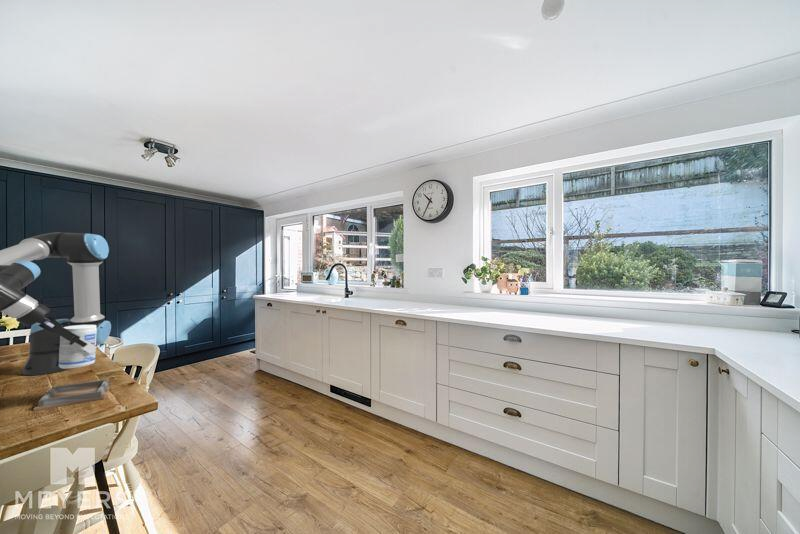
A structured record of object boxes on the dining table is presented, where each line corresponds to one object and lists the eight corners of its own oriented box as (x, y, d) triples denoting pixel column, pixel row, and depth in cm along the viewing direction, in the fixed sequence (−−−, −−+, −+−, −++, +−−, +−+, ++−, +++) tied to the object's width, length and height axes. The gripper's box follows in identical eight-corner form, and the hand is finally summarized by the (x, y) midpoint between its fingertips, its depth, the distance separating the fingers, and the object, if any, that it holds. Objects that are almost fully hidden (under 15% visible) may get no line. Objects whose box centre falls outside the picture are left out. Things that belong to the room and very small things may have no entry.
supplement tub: (90, 367, 112) (92, 327, 112) (53, 371, 107) (55, 329, 107) (98, 360, 120) (100, 323, 120) (64, 363, 115) (66, 325, 115)
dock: (50, 393, 115) (51, 386, 115) (111, 384, 125) (111, 378, 125) (33, 410, 102) (33, 402, 102) (103, 399, 112) (103, 391, 112)
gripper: (10, 316, 107) (73, 351, 120) (18, 323, 95) (87, 362, 108) (34, 300, 112) (92, 336, 125) (45, 305, 100) (108, 344, 112)
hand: (89, 348), depth 116 cm, fingers closed on supplement tub, 10 cm apart
